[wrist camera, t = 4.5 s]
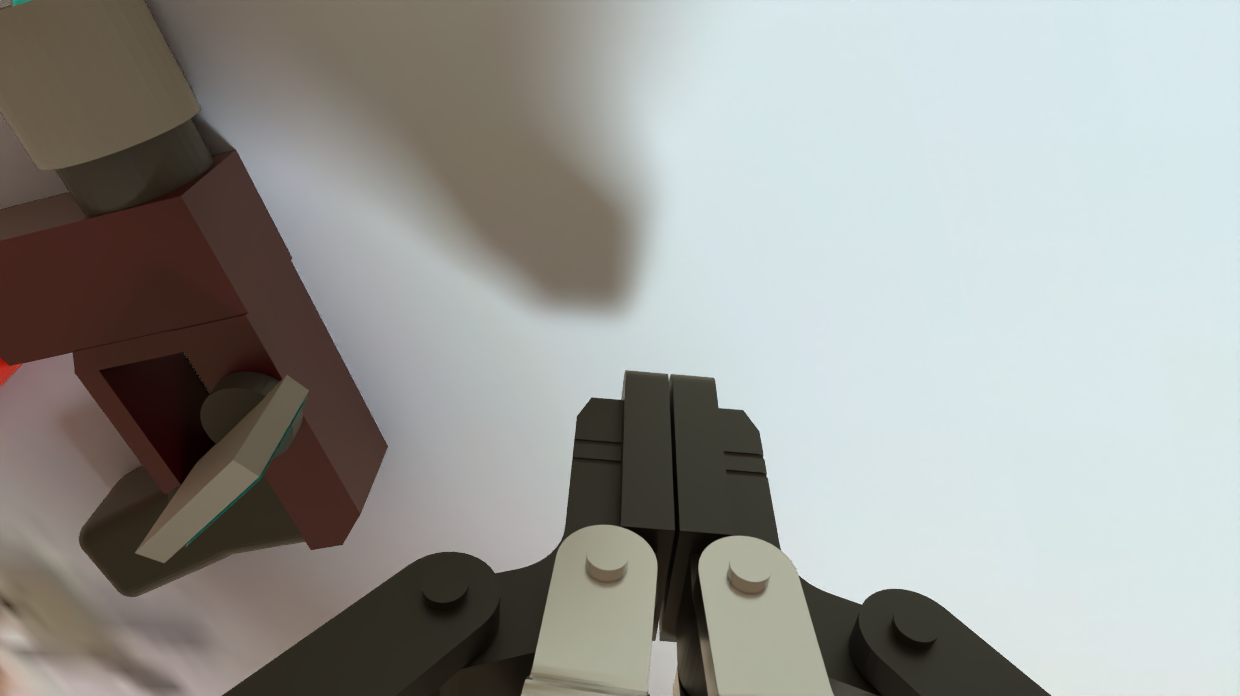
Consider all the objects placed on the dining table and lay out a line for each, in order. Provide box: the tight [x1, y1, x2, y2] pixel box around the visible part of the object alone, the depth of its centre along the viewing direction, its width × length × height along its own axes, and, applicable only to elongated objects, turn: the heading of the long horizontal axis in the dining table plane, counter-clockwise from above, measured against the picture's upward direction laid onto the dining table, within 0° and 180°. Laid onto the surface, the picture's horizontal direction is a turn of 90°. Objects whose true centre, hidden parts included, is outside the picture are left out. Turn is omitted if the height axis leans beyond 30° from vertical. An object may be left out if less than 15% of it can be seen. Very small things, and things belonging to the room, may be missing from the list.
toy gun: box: [0, 0, 388, 597], centre depth 14 cm, size 10×12×5 cm
